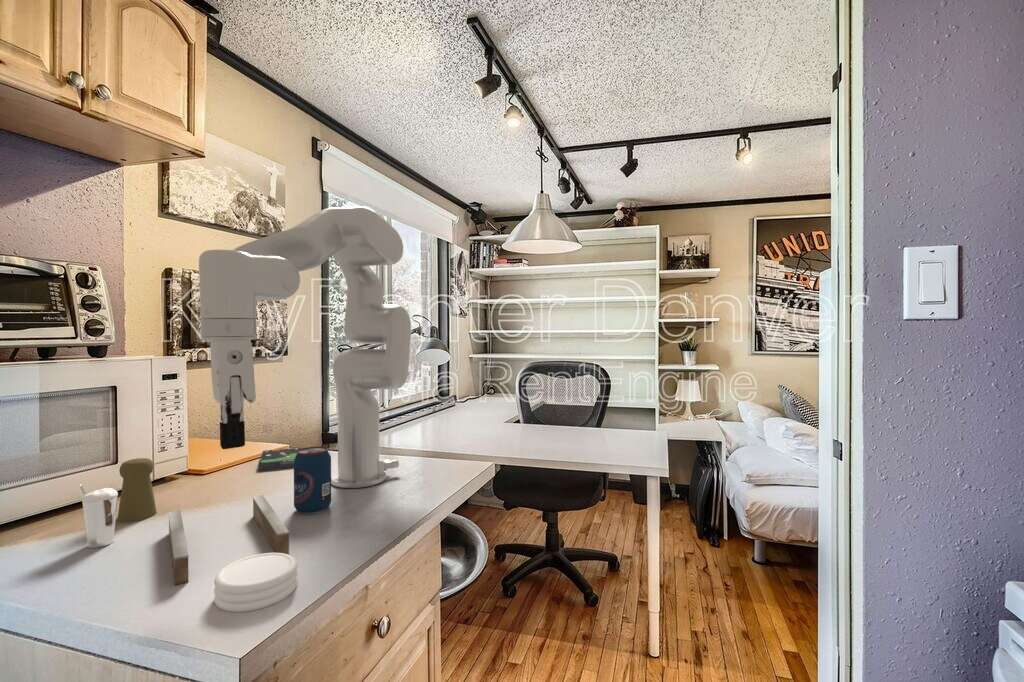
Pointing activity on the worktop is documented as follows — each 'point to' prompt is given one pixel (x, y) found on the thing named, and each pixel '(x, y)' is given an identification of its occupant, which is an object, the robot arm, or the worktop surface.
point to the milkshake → (100, 516)
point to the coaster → (255, 582)
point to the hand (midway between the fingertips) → (232, 446)
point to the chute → (264, 518)
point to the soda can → (312, 480)
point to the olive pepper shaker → (136, 491)
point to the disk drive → (277, 459)
